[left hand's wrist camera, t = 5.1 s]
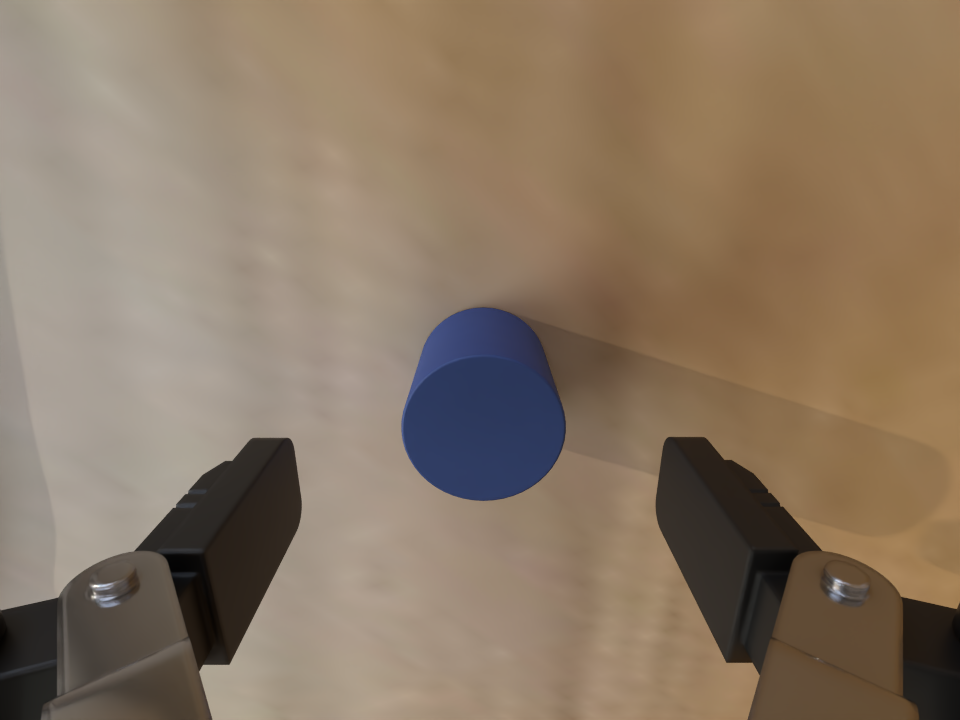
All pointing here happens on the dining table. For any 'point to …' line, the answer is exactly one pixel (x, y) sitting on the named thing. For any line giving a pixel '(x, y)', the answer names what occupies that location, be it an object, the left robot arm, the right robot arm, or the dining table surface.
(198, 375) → the dining table surface
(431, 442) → the canister
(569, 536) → the dining table surface
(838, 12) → the dining table surface
